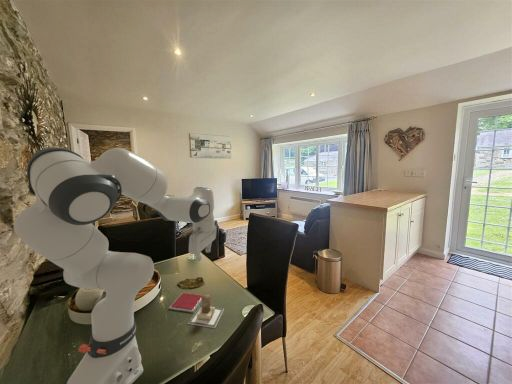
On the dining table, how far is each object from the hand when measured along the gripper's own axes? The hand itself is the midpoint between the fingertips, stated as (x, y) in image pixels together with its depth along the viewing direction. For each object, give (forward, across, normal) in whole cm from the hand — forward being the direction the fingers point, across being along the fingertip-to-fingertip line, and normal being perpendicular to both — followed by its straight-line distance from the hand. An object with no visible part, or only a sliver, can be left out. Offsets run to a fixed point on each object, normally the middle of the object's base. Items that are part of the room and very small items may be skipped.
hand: (203, 256), depth 92 cm
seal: (+28, +22, +18) cm, 40 cm away
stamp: (+27, 0, -1) cm, 27 cm away
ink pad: (+27, +6, +12) cm, 30 cm away
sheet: (+28, 0, -2) cm, 28 cm away
